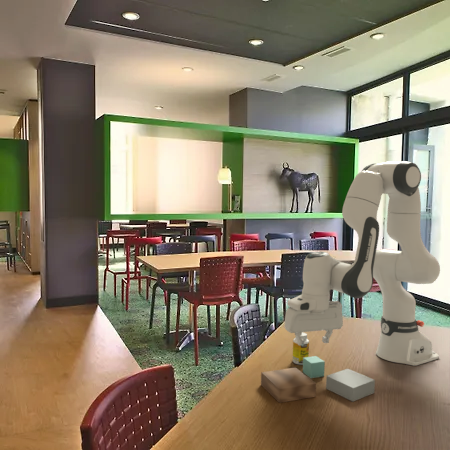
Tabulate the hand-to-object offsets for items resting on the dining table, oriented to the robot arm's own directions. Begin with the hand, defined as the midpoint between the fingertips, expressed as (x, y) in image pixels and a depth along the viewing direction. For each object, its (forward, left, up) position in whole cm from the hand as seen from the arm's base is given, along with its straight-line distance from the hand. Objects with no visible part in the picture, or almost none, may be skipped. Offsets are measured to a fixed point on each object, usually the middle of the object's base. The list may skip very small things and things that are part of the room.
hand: (313, 343), depth 143 cm
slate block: (-5, +14, -10) cm, 18 cm away
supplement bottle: (-2, -10, -11) cm, 15 cm away
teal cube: (-1, 0, -10) cm, 10 cm away
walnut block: (+13, +8, -10) cm, 19 cm away
